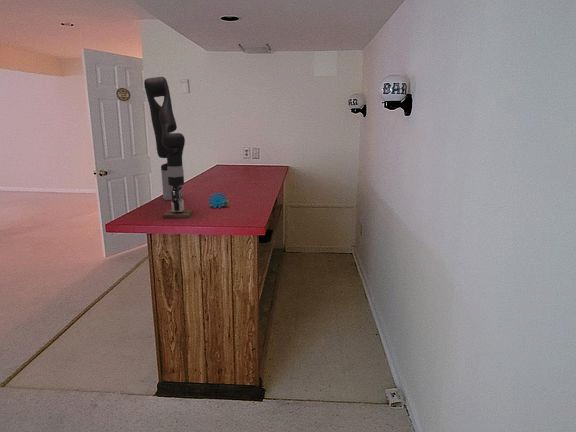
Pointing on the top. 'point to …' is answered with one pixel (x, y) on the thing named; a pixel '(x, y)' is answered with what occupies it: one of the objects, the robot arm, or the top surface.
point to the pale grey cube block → (181, 206)
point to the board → (178, 214)
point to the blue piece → (218, 200)
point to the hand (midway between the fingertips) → (178, 209)
